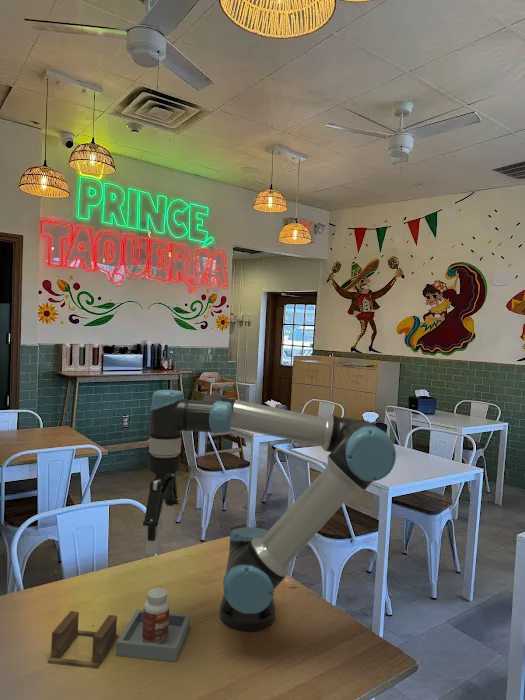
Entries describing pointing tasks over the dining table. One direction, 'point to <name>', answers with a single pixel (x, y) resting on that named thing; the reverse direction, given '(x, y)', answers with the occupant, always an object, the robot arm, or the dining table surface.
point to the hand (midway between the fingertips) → (160, 541)
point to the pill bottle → (156, 617)
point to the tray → (165, 651)
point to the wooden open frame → (69, 632)
